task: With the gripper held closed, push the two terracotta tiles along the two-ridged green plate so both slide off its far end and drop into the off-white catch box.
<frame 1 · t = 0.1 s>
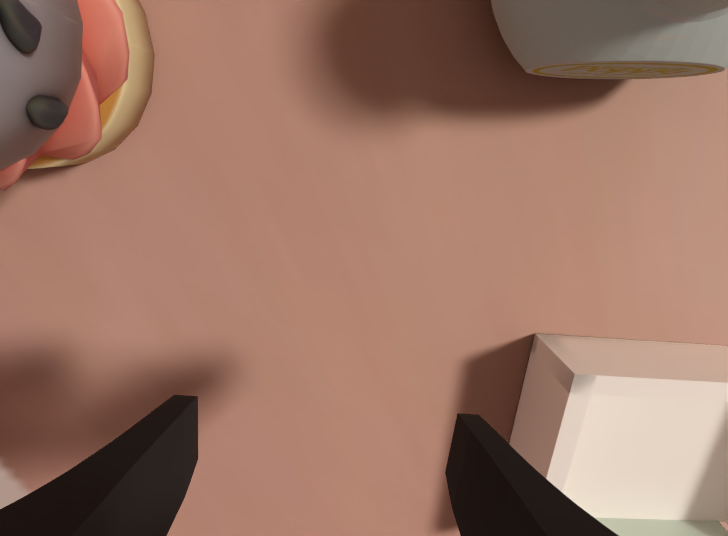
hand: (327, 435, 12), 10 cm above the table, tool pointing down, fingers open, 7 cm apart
cake: (34, 45, 17), on the table
catch box: (644, 433, 25), on the table
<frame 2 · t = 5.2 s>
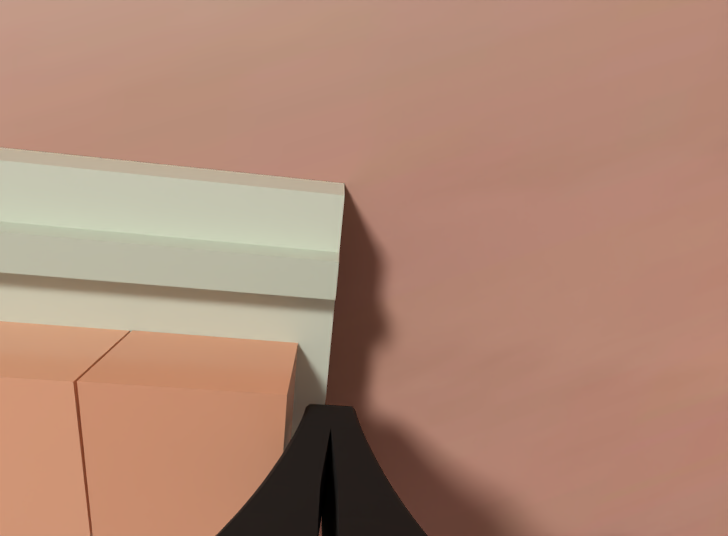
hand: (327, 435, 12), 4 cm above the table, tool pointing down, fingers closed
two-ridged green plate: (159, 349, 15), on the table
tile a: (215, 405, 12), point 3 cm above the table, touching two-ridged green plate, gripper
tile b: (52, 396, 12), point 3 cm above the table, touching two-ridged green plate
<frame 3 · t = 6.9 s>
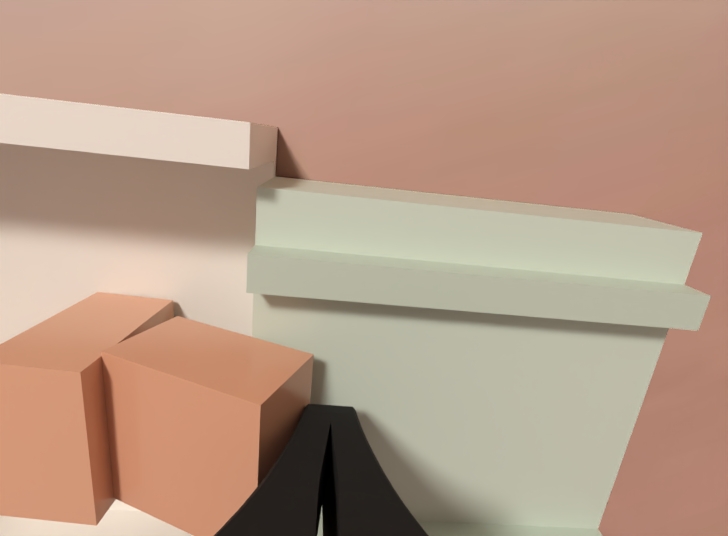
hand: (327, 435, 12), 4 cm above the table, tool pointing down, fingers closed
two-ridged green plate: (428, 369, 16), on the table
tile a: (240, 402, 12), point 3 cm above the table, tilted 23°, touching gripper, tile b
catch box: (95, 344, 15), on the table
tile b: (139, 399, 12), point 3 cm above the table, tilted 94°, touching catch box, tile a
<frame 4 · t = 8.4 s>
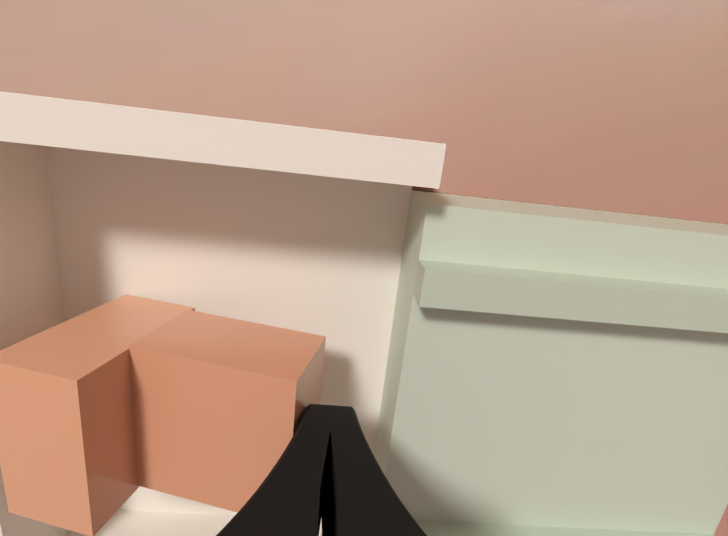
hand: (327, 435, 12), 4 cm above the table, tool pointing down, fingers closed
two-ridged green plate: (539, 376, 16), on the table
tile a: (252, 386, 13), point 2 cm above the table, tilted 14°, touching gripper, tile b
catch box: (220, 353, 15), on the table
tile b: (150, 408, 12), point 3 cm above the table, tilted 104°, touching catch box, tile a
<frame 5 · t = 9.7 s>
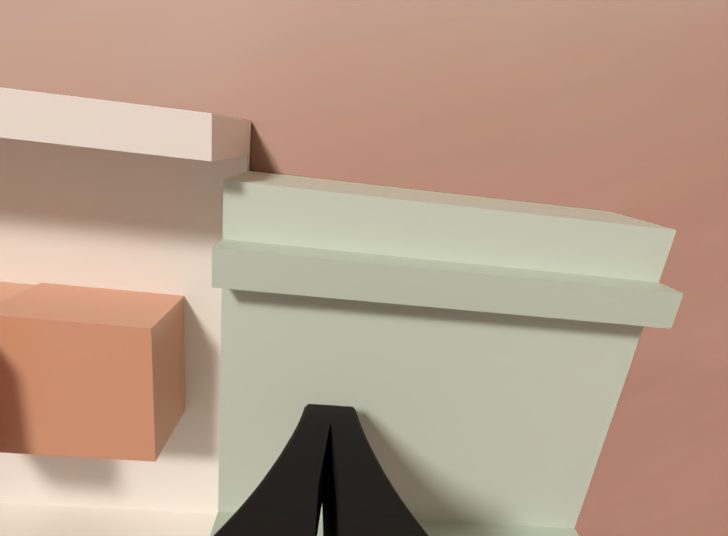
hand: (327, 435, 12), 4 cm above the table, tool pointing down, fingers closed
two-ridged green plate: (406, 366, 16), on the table
tile a: (117, 350, 14), resting on catch box
catch box: (68, 340, 15), on the table
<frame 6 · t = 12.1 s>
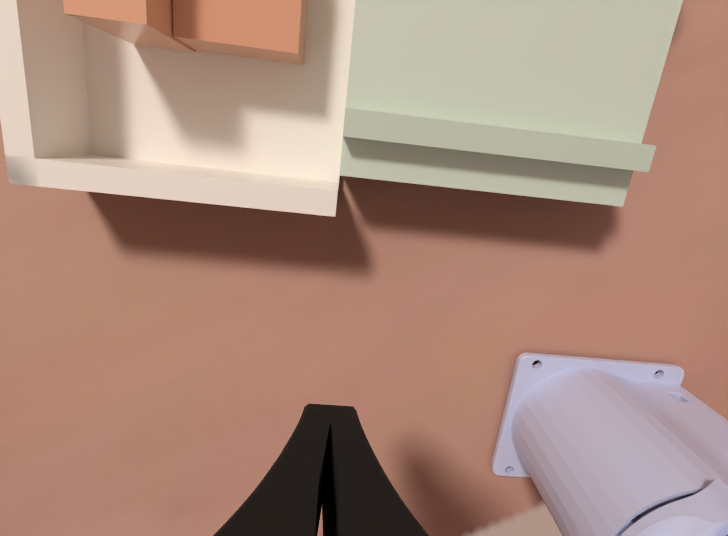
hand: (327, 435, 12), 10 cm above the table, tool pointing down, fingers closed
two-ridged green plate: (491, 33, 18), on the table
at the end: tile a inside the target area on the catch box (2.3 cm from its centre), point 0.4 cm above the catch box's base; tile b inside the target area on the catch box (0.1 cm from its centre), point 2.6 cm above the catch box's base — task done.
